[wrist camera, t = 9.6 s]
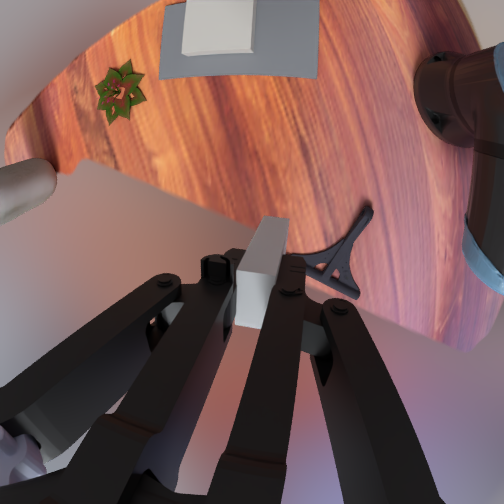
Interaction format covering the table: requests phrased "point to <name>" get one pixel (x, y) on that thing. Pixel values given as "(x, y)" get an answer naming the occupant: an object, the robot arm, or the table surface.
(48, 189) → the grey bottle
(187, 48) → the tile
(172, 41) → the mat
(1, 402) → the robot arm
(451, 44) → the table surface
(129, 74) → the lily flower
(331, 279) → the bracket
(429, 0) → the table surface
